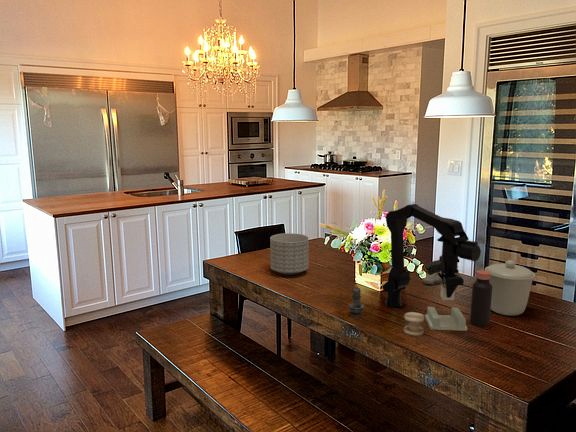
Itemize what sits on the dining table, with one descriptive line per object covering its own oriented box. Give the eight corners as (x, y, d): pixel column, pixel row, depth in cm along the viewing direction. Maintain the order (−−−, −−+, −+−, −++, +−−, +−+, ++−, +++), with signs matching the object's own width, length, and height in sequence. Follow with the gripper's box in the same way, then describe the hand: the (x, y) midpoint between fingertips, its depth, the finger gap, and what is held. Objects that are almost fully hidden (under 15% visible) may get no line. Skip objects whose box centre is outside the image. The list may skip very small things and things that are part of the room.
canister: (532, 307, 194) (537, 258, 190) (529, 323, 178) (534, 270, 174) (485, 299, 203) (489, 251, 199) (478, 314, 188) (482, 262, 183)
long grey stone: (462, 272, 245) (443, 269, 251) (462, 262, 244) (443, 260, 250) (438, 287, 217) (417, 284, 223) (438, 276, 216) (417, 273, 222)
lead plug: (440, 295, 179) (441, 281, 178) (451, 296, 178) (452, 282, 177) (442, 299, 175) (443, 285, 174) (453, 300, 174) (454, 285, 173)
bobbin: (402, 327, 176) (403, 311, 174) (421, 327, 175) (422, 312, 174) (405, 335, 169) (405, 319, 168) (425, 336, 168) (426, 320, 167)
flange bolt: (353, 310, 191) (354, 281, 189) (366, 313, 188) (367, 285, 185) (345, 314, 187) (346, 285, 185) (358, 318, 183) (359, 289, 181)
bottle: (477, 327, 175) (482, 275, 171) (466, 320, 182) (469, 270, 178) (493, 325, 177) (497, 274, 173) (481, 318, 183) (485, 268, 179)
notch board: (424, 317, 184) (425, 306, 184) (459, 318, 183) (460, 307, 182) (430, 329, 174) (431, 318, 173) (467, 330, 173) (468, 319, 172)
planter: (308, 278, 230) (308, 242, 226) (269, 278, 230) (269, 242, 226) (307, 267, 248) (308, 233, 245) (271, 266, 249) (271, 233, 245)
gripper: (422, 247, 183) (420, 286, 186) (432, 261, 165) (429, 304, 168) (452, 248, 182) (449, 287, 185) (465, 262, 164) (462, 305, 167)
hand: (447, 295), depth 176 cm, fingers closed on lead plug, 4 cm apart
